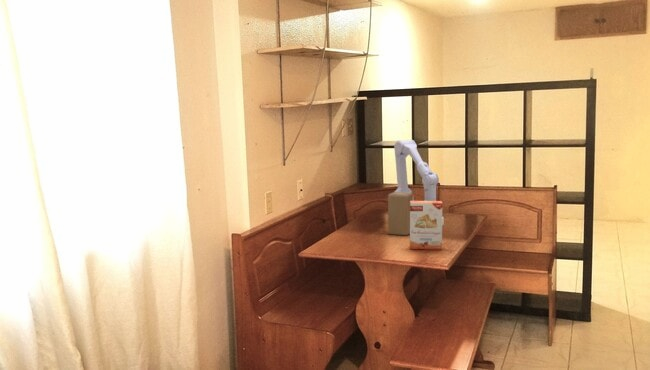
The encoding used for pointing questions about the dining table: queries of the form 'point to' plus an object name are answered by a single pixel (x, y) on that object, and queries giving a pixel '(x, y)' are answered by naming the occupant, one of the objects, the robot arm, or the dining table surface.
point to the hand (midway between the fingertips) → (430, 224)
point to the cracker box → (426, 225)
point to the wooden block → (399, 213)
